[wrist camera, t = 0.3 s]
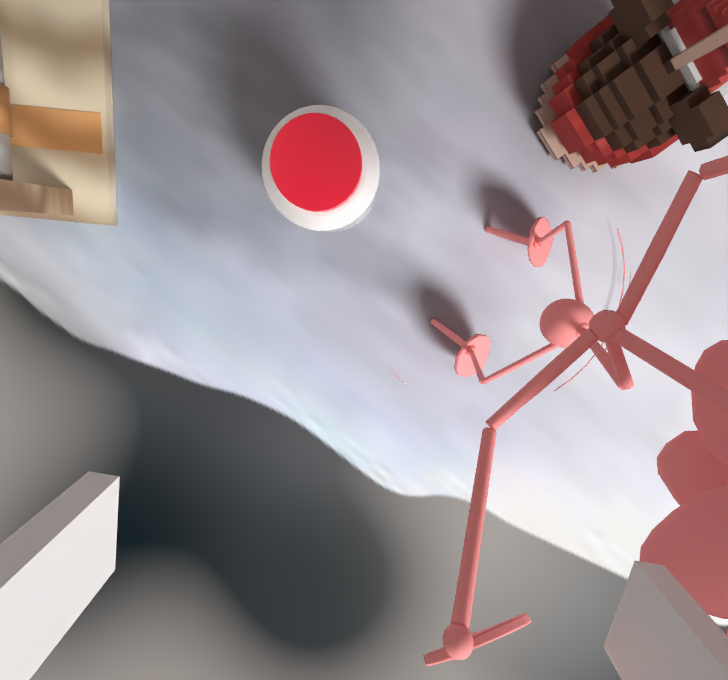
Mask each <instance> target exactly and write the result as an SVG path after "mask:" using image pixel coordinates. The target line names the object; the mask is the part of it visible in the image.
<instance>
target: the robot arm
mask: <svg viewBox="0 0 728 680" xmlns="http://www.w3.org/2000/svg"><path fill="white" fill-rule="evenodd" d="M118 497H119V476H113V475H107V474H100V473H95V472H88V473H86V474H85V475H84V476H83V477H82V478H80V479H79V480H78V481H77V482H76V483H74V484H73V485H72V486H71V487H69V488H68V489H67V490H66V491H65V492H63V493H62V494H61V495H60V496H59V497H57V498H56V499H55V500H54V501H53V502H51V503H50V504H49V505H48V506H46V507H45V508H44V509H43V510H42V511H40V512H39V513H38V514H37V515H35V516H34V517H33V518H32V519H30V520H29V521H28V522H27V523H26V524H24V525H23V526H22V527H21V528H20V529H18V530H17V531H16V532H15V533H13V534H12V535H11V536H10V537H9V538H7V539H6V540H5V541H4V542H3V543H1V544H0V680H29V679H30V678H31V677H32V676H33V674H34V673H35V672H36V670H37V669H38V668H39V667H40V665H41V664H42V663H43V661H44V660H45V659H46V658H47V656H48V655H49V654H50V652H51V651H52V650H53V649H54V647H55V646H56V645H57V643H58V642H59V641H60V640H61V638H62V637H63V636H64V634H65V633H66V632H67V631H68V629H69V628H70V627H71V625H72V624H73V623H74V622H75V620H76V619H77V618H78V616H79V615H80V614H81V613H82V611H83V610H84V609H85V607H86V606H87V605H88V604H89V602H90V601H91V600H92V598H93V597H94V596H95V594H96V593H97V592H98V591H99V589H100V588H101V587H102V586H103V584H104V583H105V582H106V580H107V579H108V578H109V576H110V575H111V574H112V573H113V571H114V570H115V558H116V537H117V516H118ZM604 649H605V651H606V653H607V655H608V656H609V658H610V660H611V662H612V663H613V665H614V667H615V669H616V670H617V672H618V674H619V676H620V677H621V679H622V680H728V637H727V635H726V634H725V633H724V632H723V631H722V630H721V629H720V628H719V627H718V625H717V624H716V623H715V622H714V621H713V620H712V619H711V618H710V616H709V615H708V614H707V613H706V612H705V611H704V610H703V609H702V607H701V606H700V605H699V604H698V603H697V602H696V601H695V600H694V598H693V597H692V596H691V595H690V594H689V593H688V592H687V591H686V590H685V588H684V587H683V586H682V585H681V584H680V583H679V582H678V581H677V579H676V578H675V577H674V576H673V575H672V574H671V573H670V572H669V570H668V569H667V568H666V567H665V566H664V565H659V564H652V563H646V562H640V561H635V562H634V564H633V567H632V570H631V573H630V575H629V578H628V581H627V583H626V586H625V589H624V592H623V594H622V598H621V600H620V603H619V606H618V608H617V611H616V614H615V617H614V619H613V622H612V625H611V627H610V630H609V633H608V636H607V639H606V641H605V644H604Z"/></svg>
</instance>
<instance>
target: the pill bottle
mask: <svg viewBox="0 0 728 680" xmlns="http://www.w3.org/2000/svg"><path fill="white" fill-rule="evenodd" d="M261 166H262V178H263V182H264V186H265V190H266V192H267V194H268V196H269V198H270V200H271V202H272V203H273V204H274V206H275V207H276V209H277V210H278V211H279V212H280V213H281V214H282V215H283V216H284V217H285V218H286V219H288V220H289V221H291V222H293V223H294V224H296V225H298V226H301V227H303V228H306V229H310V230H315V231H323V232H340V231H344V230H347V229H349V228H352V227H354V226H355V225H357V224H358V223H360V222H361V221H362V220H363V219H364V218H365V217H366V216H367V215H368V213H369V212H370V210H371V208H372V207H373V205H374V202H375V199H376V196H377V190H378V184H379V178H380V160H379V156H378V151H377V148H376V145H375V143H374V140H373V138H372V136H371V135H370V133H369V132H368V130H367V129H366V127H365V126H364V125H363V124H362V123H361V122H360V121H359V120H358V119H357V118H355V117H354V116H352V115H351V114H350V113H348V112H346V111H344V110H342V109H339V108H337V107H333V106H327V105H310V106H307V107H303V108H299V109H297V110H295V111H293V112H291V113H289V114H288V115H287V116H286V117H284V118H283V119H282V120H281V121H280V122H279V123H278V124H277V125H276V126H275V128H274V129H273V130H272V132H271V134H270V135H269V137H268V139H267V141H266V144H265V148H264V151H263V156H262V165H261Z"/></svg>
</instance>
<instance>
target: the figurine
mask: <svg viewBox="0 0 728 680" xmlns="http://www.w3.org/2000/svg"><path fill="white" fill-rule="evenodd" d="M699 172H700V175H699V174H697V173H695V172H692V171H690V170H689V171H688V172H687V174H686V176H685V178H684V180H683V182H682V184H681V186H680V188H679V190H678V192H677V194H676V196H675V198H674V200H673V202H672V204H671V205H670V207H669V209H668V211H667V213H666V215H665V217H664V219H663V221H662V223H661V225H660V227H659V229H658V231H657V232H656V234H655V236H654V238H653V240H652V242H651V244H650V246H649V248H648V250H647V252H646V254H645V256H644V258H643V260H642V262H641V264H640V266H639V268H638V270H637V272H636V274H635V276H634V278H633V280H632V281H631V283H630V282H629V287H628V289H627V291H626V293H625V295H624V297H623V299H622V295H623V290H622V295H621V299H622V301H621V299H620V303H619V307H618V309H617V311H616V312H615V311H613V310H611V311H608V310H603V311H600V312H598V313H597V314H595V315H594V314H593V312H592V311H591V310H590V308H589V307H588V306H586V305H585V304H584V302H583V295H582V289H581V283H580V277H579V271H578V265H577V259H576V253H575V247H574V240H573V234H572V228H571V222H569V221H567V220H566V221H565V222H563V223H562V224H560V225H559V226H557V227H556V228H555V229H553V230H552V231H551V228H550V225H549V222H548V220H547V219H546V218H545V217H539V218H537V219H536V221H535V222H534V224H533V225H532V227H531V229H530V234H529V238H527V237H524V236H521V235H517V234H514V233H511V232H507V231H504V230H501V229H497V228H494V227H491V226H487V227H486V232H487V233H490V234H494V235H497V236H500V237H503V238H506V239H509V240H512V241H515V242H518V243H521V244H525V245H528V255H529V261H530V262H531V263H532V264H533V266H534V267H542V266H543V265H544V263H545V262H546V260H547V257H548V255H549V252H550V249H551V246H552V243H553V236H554V235H556V234H557V233H559V232H561V231H562V230H564V229H565V231H566V238H567V245H568V252H569V258H570V265H571V272H572V279H573V285H574V292H575V299H576V300H573V299H560V300H557V301H555V302H553V303H551V304H550V305H548V306H547V307H546V308H545V310H544V311H543V313H542V315H541V318H540V330H541V332H542V334H543V336H544V337H545V338H546V339H547V340H548V341H549V342H551V343H550V344H549V345H547V346H545V347H543V348H541V349H539V350H537V351H535V352H533V353H531V354H530V355H528V356H526V357H524V358H522V359H520V360H518V361H516V362H514V363H512V364H510V365H509V366H507V367H505V368H503V369H501V370H499V371H497V372H495V373H493V374H491V375H490V376H488V377H486V378H485V377H484V375H483V373H482V368H483V366H484V364H485V362H486V359H487V357H488V354H489V352H490V343H491V342H490V340H489V338H488V337H487V336H486V335H481V334H476V335H474V336H473V337H471V338H469V339H468V340H467V341H465V340H463V339H462V338H460V337H459V336H458V335H456V334H455V333H454V332H452V331H451V330H449V329H448V328H447V327H445V326H444V325H443V324H441V323H440V322H438V321H437V320H436V319H432V320H431V324H432V325H434V326H435V327H436V328H437V329H439V330H440V331H441V332H443V333H444V334H445V335H447V336H448V337H449V338H451V339H452V340H453V341H455V342H456V343H457V344H459V345H460V346H461V348H460V350H459V352H458V354H457V355H456V360H455V367H454V368H455V371H456V373H457V374H458V375H459V376H463V377H468V376H471V375H474V374H477V376H478V379H479V382H480V383H481V384H486V383H488V382H490V381H492V380H494V379H496V378H498V377H500V376H502V375H504V374H506V373H508V372H510V371H512V370H514V369H516V368H518V367H520V366H522V365H524V364H526V363H528V362H530V361H532V360H534V359H536V358H538V357H540V356H542V355H544V354H546V353H547V352H549V351H551V350H553V349H555V348H557V347H563V348H566V349H565V350H564V351H563V352H561V353H560V354H559V355H558V356H557V357H556V358H555V359H554V360H553V361H551V362H550V363H549V364H548V365H547V366H546V367H545V368H544V369H543V370H541V371H540V372H539V373H538V374H537V375H536V376H535V377H534V378H533V379H532V380H530V381H529V382H528V383H527V384H526V385H525V386H524V387H523V388H522V389H521V390H520V391H519V392H517V393H516V394H515V395H514V396H513V397H512V398H511V399H510V400H509V401H508V402H507V403H505V404H504V405H503V406H502V407H501V408H500V409H499V410H498V411H497V412H496V413H495V414H493V415H492V416H491V417H490V418H489V419H488V420H487V421H486V424H487V425H488V426H489V427H491V428H487V427H486V428H484V429H483V432H482V438H481V444H480V450H479V456H478V462H477V468H476V474H475V480H474V486H473V492H472V498H471V504H470V510H469V517H468V523H467V529H466V535H465V541H464V547H463V553H462V559H461V565H460V571H459V577H458V583H457V589H456V595H455V601H454V607H453V613H452V619H451V625H449V626H447V628H446V629H445V631H444V634H443V646H444V647H441V648H439V649H437V650H435V651H432V652H430V653H428V654H426V655H424V656H423V657H424V661H425V664H426V666H429V665H434V664H438V663H442V662H446V661H449V660H453V659H458V660H464V659H466V658H467V657H469V655H470V653H471V652H472V649H475V648H478V647H480V646H482V645H484V644H487V643H489V642H491V641H494V640H496V639H498V638H501V637H503V636H505V635H507V634H509V633H511V632H514V631H515V630H518V629H520V628H522V627H524V626H526V625H528V624H529V623H531V620H530V618H529V616H528V614H527V613H525V614H522V615H519V616H517V617H514V618H512V619H509V620H507V621H504V622H501V623H499V624H496V625H494V626H491V627H489V628H486V629H484V630H482V631H479V632H475V633H470V631H469V624H470V617H471V610H472V602H473V595H474V588H475V581H476V574H477V573H476V572H477V566H478V559H479V552H480V544H481V537H482V530H483V523H484V516H485V509H486V502H487V495H488V488H489V481H490V474H491V467H492V460H493V453H494V446H495V439H496V429H498V428H499V427H500V426H501V425H502V424H503V423H504V422H505V421H506V420H507V419H509V418H510V417H511V416H512V415H513V414H514V413H515V412H516V411H517V410H519V409H520V408H521V407H522V406H523V405H524V404H526V403H527V402H528V401H529V400H531V399H532V398H533V397H534V396H536V395H537V394H538V393H539V392H541V391H542V390H543V389H544V388H545V387H547V386H548V385H549V384H550V383H551V382H552V381H553V380H554V379H555V378H557V377H558V376H559V375H560V374H561V373H562V372H563V371H564V370H565V369H567V368H568V367H569V366H570V365H571V364H572V363H573V362H574V361H575V360H577V359H578V358H579V357H580V356H581V355H582V354H583V353H584V352H585V351H586V350H588V349H589V348H591V350H592V351H593V353H594V356H595V355H596V357H597V358H598V360H599V361H600V362H601V364H602V365H603V367H604V368H605V369H606V371H607V372H608V374H609V375H610V376H611V378H612V379H613V381H614V382H615V383H616V385H617V386H618V387H619V388H620V389H621V390H625V389H630V388H631V387H633V386H634V384H633V380H632V377H631V374H630V371H629V369H628V366H627V363H626V360H625V357H624V354H623V351H622V348H621V346H622V347H624V348H625V349H627V350H628V351H630V352H631V353H633V354H635V355H636V356H638V357H639V358H641V359H642V360H644V361H646V362H647V363H649V364H650V365H652V366H653V367H655V368H657V369H658V370H660V371H661V372H663V373H664V374H666V375H668V376H669V377H671V378H672V379H674V380H675V381H677V382H679V383H680V384H682V385H683V386H685V387H686V388H688V389H690V390H691V395H692V410H693V421H694V423H695V425H696V427H697V429H698V431H684V432H683V433H681V434H680V435H678V436H677V437H675V438H674V439H672V440H671V441H669V442H668V443H666V445H665V446H664V448H663V449H662V451H661V452H660V454H659V455H658V457H657V467H658V474H659V475H660V477H661V479H662V480H663V482H664V483H665V485H666V486H667V488H668V489H669V491H670V493H671V494H672V496H673V498H674V499H675V500H676V501H677V503H678V504H679V505H680V507H678V508H677V509H675V510H674V511H672V512H671V513H670V514H669V515H668V516H667V517H666V518H665V519H664V520H662V521H661V522H660V523H659V524H658V525H657V526H656V527H655V528H654V529H653V530H652V531H651V533H650V534H649V536H648V537H647V539H646V540H645V542H644V543H643V544H642V546H641V551H640V562H646V563H652V564H659V565H664V566H665V567H666V568H667V569H668V570H669V572H670V573H671V574H672V575H673V576H674V577H675V578H676V579H677V581H678V582H679V583H680V584H681V585H682V586H683V587H684V588H685V590H686V591H687V592H688V593H689V594H690V595H691V596H692V597H693V598H694V600H695V601H696V602H697V603H698V604H699V605H700V606H701V607H702V609H703V610H704V611H705V612H706V613H707V614H709V615H712V616H716V617H719V618H724V619H728V340H721V341H719V342H718V343H716V344H714V345H712V346H711V347H709V348H707V349H706V350H704V352H703V353H702V355H701V357H700V359H699V360H698V362H697V364H696V366H695V371H694V370H693V369H691V368H689V367H688V366H686V365H684V364H683V363H681V362H679V361H678V360H676V359H674V358H673V357H671V356H669V355H667V354H666V353H664V352H662V351H661V350H659V349H657V348H656V347H654V346H652V345H651V344H649V343H647V342H646V341H644V340H642V339H641V338H639V337H637V336H636V335H634V334H632V333H630V332H629V331H627V330H625V325H627V324H628V322H629V320H630V319H631V317H632V315H633V313H634V311H635V309H636V307H637V305H638V304H639V302H640V300H641V298H642V296H643V294H644V292H645V290H646V288H647V287H648V285H649V283H650V281H651V279H652V277H653V275H654V273H655V271H656V270H657V268H658V266H659V264H660V262H661V260H662V258H663V256H664V254H665V252H666V250H667V248H668V246H669V244H670V242H671V240H672V238H673V236H674V234H675V232H676V230H677V228H678V226H679V224H680V222H681V220H682V218H683V216H684V214H685V212H686V210H687V208H688V206H689V204H690V202H691V200H692V198H693V196H694V195H695V193H696V191H697V189H698V187H699V185H700V183H701V181H702V179H704V180H707V179H710V178H714V177H717V176H721V175H724V174H728V156H726V157H722V158H719V159H716V160H713V161H710V162H707V163H704V164H702V165H701V167H700V170H699ZM617 231H618V228H617ZM618 234H619V231H618ZM619 238H620V235H619ZM620 242H621V239H620ZM621 246H622V242H621ZM622 252H623V246H622ZM623 264H624V253H623ZM624 276H625V265H624ZM630 277H631V274H630ZM623 289H624V277H623ZM598 340H599V341H601V342H603V343H604V342H605V344H606V349H607V350H608V353H609V354H608V353H607V352H606V349H605V350H604V348H603V347H602V345H603V343H602V345H600V344H599V343H598V342H597V341H598ZM594 356H593V357H594ZM593 357H592V358H593ZM592 358H591V359H592ZM591 359H590V361H591ZM590 361H589V362H590ZM589 362H588V363H589ZM588 363H587V364H588ZM587 364H586V365H585V366H584V367H586V366H587ZM584 367H583V368H584ZM583 368H582V369H583ZM582 369H581V370H582ZM581 370H580V371H581ZM580 371H579V372H580ZM579 372H578V373H579ZM578 373H577V374H578ZM393 374H394V373H393ZM577 374H576V375H577ZM394 375H395V374H394ZM576 375H575V376H576ZM395 376H396V375H395ZM575 376H573V377H572V378H571V379H573V378H574V377H575ZM396 377H397V376H396ZM571 379H570V380H571ZM570 380H569V381H570ZM569 381H567V382H569ZM567 382H566V383H567ZM403 383H404V382H403ZM566 383H564V384H566ZM404 384H405V383H404ZM564 384H563V385H564ZM405 385H406V384H405ZM563 385H561V386H563ZM561 386H560V387H561ZM560 387H558V388H560ZM558 388H557V389H558ZM557 389H556V390H557ZM554 391H555V390H554ZM727 637H728V630H727Z"/></svg>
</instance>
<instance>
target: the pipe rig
mask: <svg viewBox="0 0 728 680" xmlns="http://www.w3.org/2000/svg"><path fill="white" fill-rule="evenodd" d="M0 215H10V216H20V217H30V218H41V219H51V220H62V221H72V222H83V223H93V224H103V225H117V210H116V182H115V153H114V124H113V96H112V67H111V38H110V10H109V0H0Z"/></svg>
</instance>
